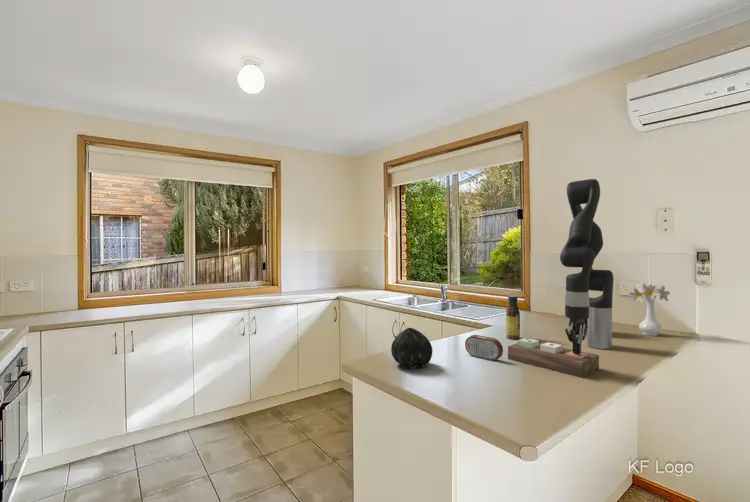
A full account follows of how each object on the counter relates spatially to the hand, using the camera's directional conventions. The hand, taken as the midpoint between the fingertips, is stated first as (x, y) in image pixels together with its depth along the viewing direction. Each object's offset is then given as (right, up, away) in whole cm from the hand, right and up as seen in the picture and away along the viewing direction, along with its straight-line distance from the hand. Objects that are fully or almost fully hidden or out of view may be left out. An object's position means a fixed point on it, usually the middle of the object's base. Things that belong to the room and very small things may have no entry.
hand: (576, 353), depth 133 cm
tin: (-29, -6, +15) cm, 33 cm away
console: (-5, -6, +7) cm, 11 cm away
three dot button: (0, -4, 0) cm, 4 cm away
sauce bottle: (-5, -6, +47) cm, 47 cm away
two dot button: (-11, -2, +14) cm, 18 cm away
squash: (-57, -6, +6) cm, 58 cm away
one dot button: (-6, -2, +7) cm, 9 cm away
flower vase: (+64, -5, +53) cm, 83 cm away
